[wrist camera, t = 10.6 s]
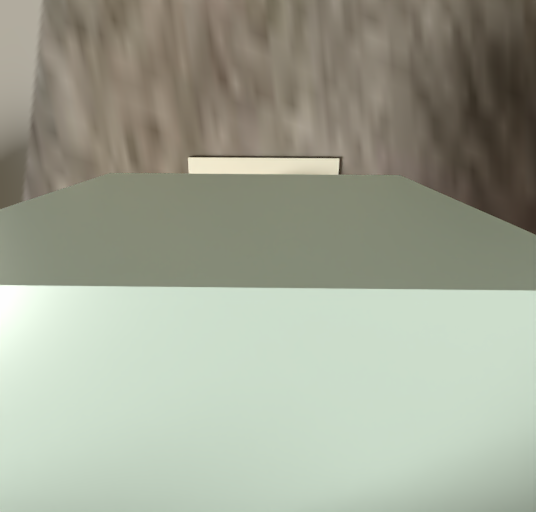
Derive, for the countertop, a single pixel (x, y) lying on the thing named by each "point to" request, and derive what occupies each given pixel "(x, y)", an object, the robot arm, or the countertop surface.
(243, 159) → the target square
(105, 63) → the countertop surface
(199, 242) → the mint green rectangular block
